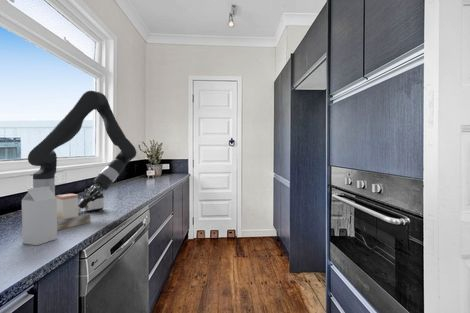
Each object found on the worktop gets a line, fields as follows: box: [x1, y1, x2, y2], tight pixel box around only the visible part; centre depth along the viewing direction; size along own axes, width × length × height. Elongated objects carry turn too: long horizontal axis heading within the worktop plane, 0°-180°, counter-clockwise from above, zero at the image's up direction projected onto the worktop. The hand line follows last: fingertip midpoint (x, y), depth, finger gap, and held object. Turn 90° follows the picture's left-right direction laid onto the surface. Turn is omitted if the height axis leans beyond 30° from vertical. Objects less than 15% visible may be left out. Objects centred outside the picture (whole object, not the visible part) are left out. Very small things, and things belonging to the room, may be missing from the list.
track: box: [57, 211, 92, 231], centre depth 107 cm, size 18×9×6 cm, turn 147°
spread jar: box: [78, 194, 105, 213], centre depth 133 cm, size 12×11×12 cm
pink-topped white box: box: [55, 193, 79, 220], centre depth 108 cm, size 6×6×11 cm
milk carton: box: [21, 186, 58, 246], centre depth 88 cm, size 7×7×19 cm
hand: (80, 207), depth 113 cm, fingers closed
